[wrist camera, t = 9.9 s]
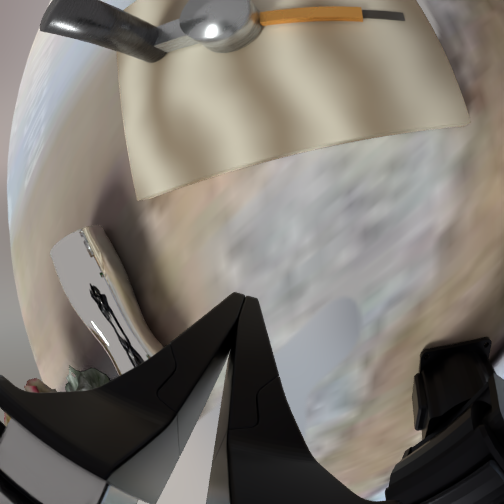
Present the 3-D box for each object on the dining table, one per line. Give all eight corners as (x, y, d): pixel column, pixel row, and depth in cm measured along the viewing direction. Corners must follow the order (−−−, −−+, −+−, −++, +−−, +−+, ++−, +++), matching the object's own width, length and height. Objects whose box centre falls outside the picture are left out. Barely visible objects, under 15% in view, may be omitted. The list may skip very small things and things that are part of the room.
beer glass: (186, 348, 26) (113, 216, 26) (138, 388, 21) (55, 236, 20) (152, 355, 30) (92, 244, 29) (111, 387, 25) (43, 263, 24)
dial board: (352, -70, 10) (350, -80, 8) (463, 126, 13) (472, 121, 12) (124, 20, 20) (114, 15, 19) (148, 199, 24) (135, 201, 22)
